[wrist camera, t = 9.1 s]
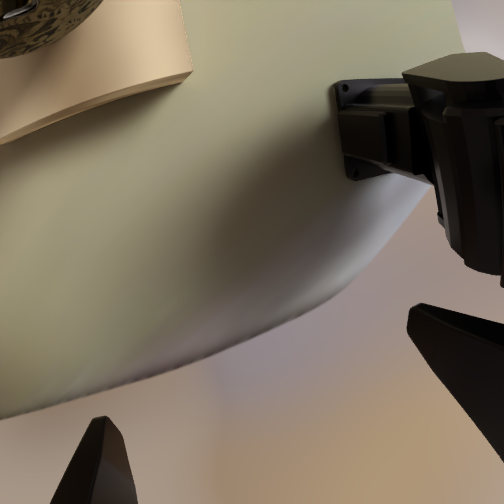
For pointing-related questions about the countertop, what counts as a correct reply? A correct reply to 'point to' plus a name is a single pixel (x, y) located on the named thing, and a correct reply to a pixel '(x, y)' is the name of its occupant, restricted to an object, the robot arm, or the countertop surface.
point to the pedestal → (95, 65)
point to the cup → (39, 23)
